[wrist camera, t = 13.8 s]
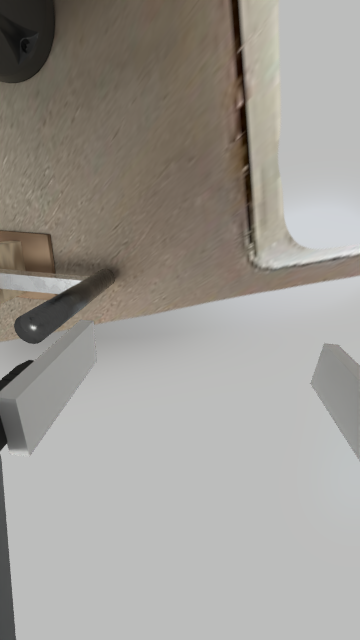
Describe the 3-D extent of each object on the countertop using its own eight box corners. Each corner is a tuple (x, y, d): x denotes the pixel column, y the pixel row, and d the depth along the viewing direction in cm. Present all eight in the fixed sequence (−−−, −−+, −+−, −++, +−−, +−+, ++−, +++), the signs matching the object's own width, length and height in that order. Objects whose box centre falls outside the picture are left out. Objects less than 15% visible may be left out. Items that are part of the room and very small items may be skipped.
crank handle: (12, 260, 43) (-140, 299, 24) (114, 269, 42) (42, 316, 23) (15, 277, 44) (-126, 327, 25) (115, 286, 44) (47, 345, 24)
